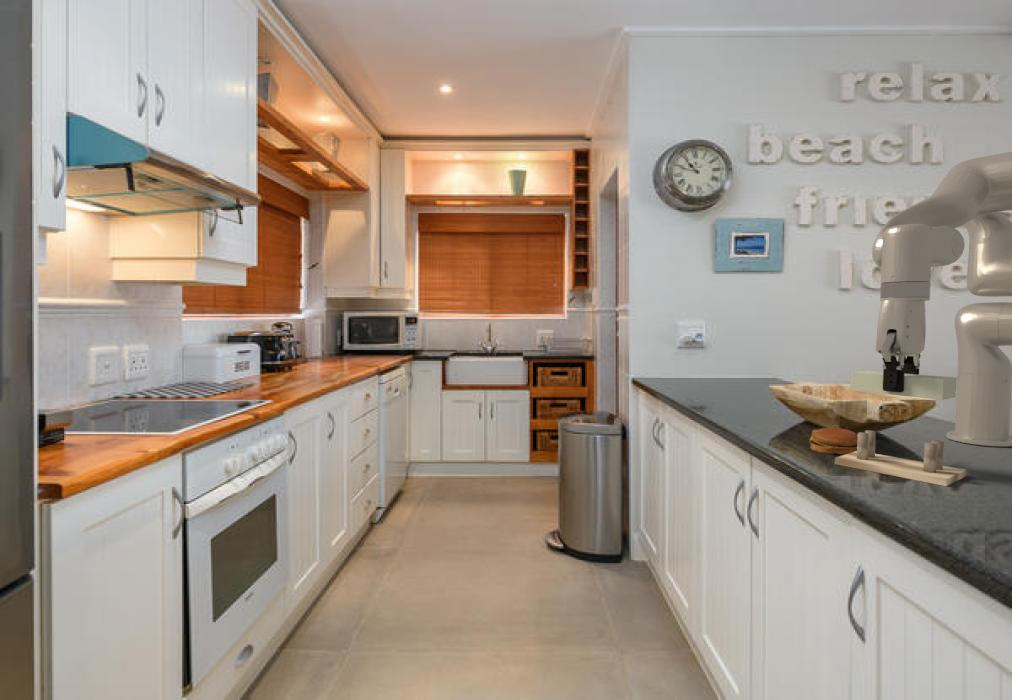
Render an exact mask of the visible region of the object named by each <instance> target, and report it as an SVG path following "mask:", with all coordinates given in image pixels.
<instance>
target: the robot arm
mask: <svg viewBox="0 0 1012 700" xmlns="http://www.w3.org/2000/svg"><path fill="white" fill-rule="evenodd" d="M1005 211H1012V151H1008V152H1003V153H997V154H991V155H986V156H980V157H976V158H970V159H966V160H963V161H960V162H959V163H957V164H956V165H955V164H954V166H953V167H952V168H951V169H950V170H949V171H948V172H947V174H946V175H945V177H944V178H943V179H942V180H941V182H940V183H939V185H938V186H937V187H936V189H935V191H933V193H932V195H931V196H929V197H926V198H925V199H923V200H921V201H919V202H916V203H915V204H913V205H912V206H911V205H910V206H909V207H907V208H905V209H904V210H902V211H900V212H898V213H897V214H895V215H894V216H892V217H891V218H889V220H888V221H887V222H886V223H885V224H884V225H883V226H882V227H881V230H879V232H878V234H877V236H876V237H875V239H874V241H873V244H872V249H871V256H872V260H873V262H874V263H875V265H876V266H878V267H879V268H880V269H881V272H880V295H879V296H880V297H879V298H880V299H879V301H880V302H881V303H880V309H879V313H878V320H877V329H876V340H875V341H876V342H875V351H876V352H877V353H878V354H880V355H882V359H881V360H882V361H883V363H882V368H883V369H882V370H883V371H882V372H883V390H884V391H890V392H903V391H904V374H916V375H920V367H921V363H920V361H921V360H920V359H921V353H922V352H923V351H924V350H925V345H926V332H927V329H926V325H927V324H926V322H927V321H926V319H927V318H926V302H925V301H930V300H931V275H932V268H937V267H938V268H939V267H944V266H949V265H951V264H954V263H955V262H957V261H958V260H959V259H960V258H961V257H962V255H963V252H964V251H965V239H964V237H963V234H961V232H960V231H959V230H958V229H957V228H960V227H962V226H965V227H966V230H967V232H968V238H969V239H968V240H969V243H968V257H967V273H966V287H967V290H968V292H969V293H970V294H971V295H973V296H978V297H991V298H992V297H994V298H996V297H998V298H999V297H1012V220H1011V219H1010V218H1008V217H1007V216H1006V215H1004V214H1003V212H1005ZM954 328H955V335H956V341H957V355H958V356H957V377H956V378H957V383H956V397H955V398H956V402H955V421H954V422H955V423H954V425H955V427H954V430H949V431H947V432H946V438H947V439H948V440H951V441H954V442H959V443H964V444H969V445H976V446H986V447H987V446H988V447H998V448H999V447H1001V448H1004V447H1005V448H1006V447H1012V436H1011V435H1010V426H1011V425H1010V423H1011V406H1012V362H1011V360H1010V359H1009V357H1008V356H1007V355H1006V354H1005V352H1003V350H1002V349H1001V348H1000V347H1002V346H1003V347H1004V346H1009V347H1010V346H1011V347H1012V302H1011V301H1010V302H1007V301H1005V302H1004V301H1003V302H1002V301H999V302H976V303H971V304H967V305H965V306H963V307H961V308H960V309H958V311H957V313H956V314H955V317H954Z"/></svg>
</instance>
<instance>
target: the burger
mask: <svg viewBox="0 0 1012 700" xmlns="http://www.w3.org/2000/svg"><path fill="white" fill-rule="evenodd" d="M857 438H858V433H856V432H854V431H852V430H849V429H845V428H840V427H838V428H837V427H822V428H816V429H815V428H814V429H812V431H811V437H810V438H809V444H810V450H812V451H814V452H818V453H821V454H828V455H835V454H836V455H840V456H843V455H846V454H849V453H852V452H855V451H857Z"/></svg>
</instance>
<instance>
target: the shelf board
mask: <svg viewBox="0 0 1012 700" xmlns="http://www.w3.org/2000/svg"><path fill="white" fill-rule="evenodd" d="M849 381H850V382H849V390H850V391H854V392H856V391H857V392H863V393H865V392H866V393H871V394H872V393H874V394H882V395H891V396H901V397H910V398H919V399H920V398H921V399H929V400H937V401H938V400H939V401H940V400H941V401H944V400H948V399H954V398H957V377H953V376H940V375H928V374H927V375H926V374H925V375H924V374H919V375H916V374H904V391H903V392H890V391H884V390H883V371H875V370H860V371H859V370H858V371H851V372H850V379H849Z"/></svg>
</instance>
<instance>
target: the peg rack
mask: <svg viewBox="0 0 1012 700" xmlns="http://www.w3.org/2000/svg"><path fill="white" fill-rule="evenodd" d="M876 433H877V432H876V431H874V430H869V429H868V430H865V431H864V432H860V431H859V432H857V435H858V438H857V451H855V452H852V453H849V454H846V455H840V456H836V457H834V465H837V466H839V465H840V466H842V467H848V468H853V469H859V470H864V471H869V472H874V473H877V474H883V475H888V476H893V477H899V478H902V479H908V480H913V481H917V482H922V483H923V482H924V483H929V484H933V485H939V486H944V487H948V486H950V485H952V484H953V483H956V482H958V481H960V480H962V479H964V478H965V477H967V469H965V468H958V467H953V466H947V465H943V464H944V445H945V443H944V441H943V440H937V439H934V440H933V439H932V440H931V441H930V442H924V448H923V449H924V450H923V461H918V460H915V459H908V458H904V457H903V458H901V457H895V456H891V455H884V454H880V453H879V454H878V453H876V440H877V439H876V438H877V434H876Z"/></svg>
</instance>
